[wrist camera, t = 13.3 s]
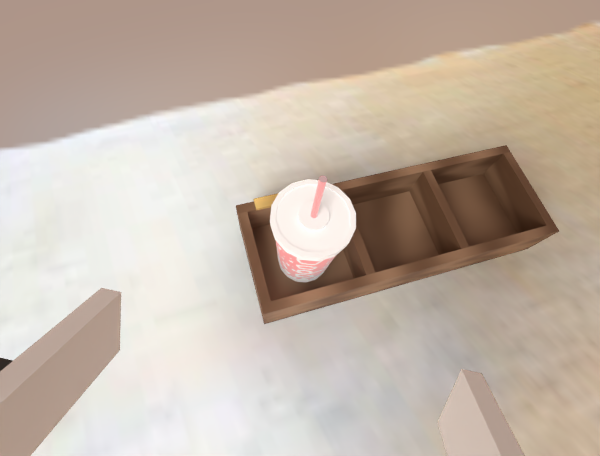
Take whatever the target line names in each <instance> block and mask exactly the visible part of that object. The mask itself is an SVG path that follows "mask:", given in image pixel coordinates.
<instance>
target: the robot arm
mask: <svg viewBox="0 0 600 456" xmlns="http://www.w3.org/2000/svg"><path fill="white" fill-rule="evenodd" d="M120 319H121V292H117V291H113V290H109V289H104V288H101V289H100V290H99V291H97V292H96V293H95V294H94V295H92V296H91V297H90V298H89V299H88V300H86V301H85V302H84V303H83V304H82V305H80V306H79V307H78V308H77V309H75V310H74V311H73V312H72V313H71V314H69V315H68V316H67V317H66V318H65V319H63V320H62V321H61V322H60V323H58V324H57V325H56V326H55V327H54V328H52V329H51V330H50V331H49V332H48V333H46V334H45V335H44V336H43V337H42V338H40V339H39V340H38V341H37V342H35V343H34V344H33V345H32V346H31V347H29V348H28V349H27V350H26V351H25V352H23V353H22V354H21V355H20V356H18V357H17V358H16V359H15V360H14V361H12V360H8V359H3V358H0V456H31V454H32V453H33V452H34V451H35V450H36V448H37V447H38V446H39V445H40V444H41V443H42V441H43V440H44V439H45V438H46V437H47V435H48V434H49V433H50V432H51V431H52V430H53V428H54V427H55V426H56V425H57V424H58V422H59V421H60V420H61V419H62V418H63V417H64V415H65V414H66V413H67V412H68V411H69V409H70V408H71V407H72V406H73V405H74V404H75V402H76V401H77V400H78V399H79V398H80V396H81V395H82V394H83V393H84V392H85V391H86V389H87V388H88V387H89V386H90V385H91V383H92V382H93V381H94V380H95V379H96V378H97V376H98V375H99V374H100V373H101V372H102V370H103V369H104V368H105V367H106V366H107V365H108V363H109V362H110V361H111V360H112V359H113V357H114V356H115V355H116V354H117V353H118V352H119V350H120ZM437 423H438V427H439V430H440V433H441V436H442V440H443V443H444V446H445V449H446V453H447V456H525V455H524V453H523V452H522V450H521V448H520V446H519V444H518V442H517V440H516V438H515V436H514V434H513V432H512V430H511V429H510V427H509V425H508V423H507V421H506V419H505V417H504V415H503V413H502V411H501V409H500V408H499V406H498V404H497V402H496V400H495V398H494V396H493V394H492V392H491V390H490V388H489V387H488V385H487V383H486V381H485V379H484V377H483V375H482V374H481V373H477V372H472V371H468V370H464V369H461V371H460V373H459V376H458V378H457V380H456V382H455V385H454V387H453V389H452V391H451V393H450V396H449V398H448V400H447V402H446V404H445V407H444V409H443V411H442V413H441V415H440V418H439V420H438V422H437Z"/></svg>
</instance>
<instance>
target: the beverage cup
mask: <svg viewBox="0 0 600 456" xmlns="http://www.w3.org/2000/svg"><path fill="white" fill-rule="evenodd" d="M270 226H271V229H272V232H273V235H274V238H275V240H276V247H277V255H278V262H279V265H280V268H281V270H282V271H283V272H284V274H285V275H286V276H287V277H288V278H290V279H292V280H294V281H296V282H309V281H312V280H316V279H317V278H318V277H319V276H320V275H322V274H323V273H324V271H325V270H326V268H327V267H328V266H329V264H330V263H331V261H332V260H333V259H334V257H335V256H336V255H337V254H338V253H339V252H341V251H342V250H343V249H344V248H345V247H346V246H347V245H348V244H349V242H350V240H351V238H352V236H353V233H354V231H355V229H356V212H355V210H354V207H353V205H352V203H351V200H350V199H349V198H348V197H347V196H346V195H345V194H344V193H343V192H342V191H341V190H340V189H339V188H338V187H336V186H334V185H332V184H330V183H328V182H327V177H326V176H320V177H319V180H311V179H306V180H302V181H298V182H294V183H291V184H290V185H289V186H287V187H286V188H284V189H283V190H282V191H280V192H279V194H278V195H277V197H276V199H275V200H274V202H273V204H272V205H271V215H270Z"/></svg>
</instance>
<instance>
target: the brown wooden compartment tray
mask: <svg viewBox="0 0 600 456" xmlns="http://www.w3.org/2000/svg"><path fill="white" fill-rule="evenodd" d="M332 185H334V186H336V187H338V188H339V189H340V190H341V191H342V192H343V193H344V194H345V195H346V196H347V197H348V198H349V199H350V200H351V203H352V205H353V207H354V210H355V212H356V229H355V231H354V233H353V236H352V238H351V240H350V242H349V244H348V245H347V246H346V247H345V248H344V249H343V250H342V251H341V252H339V253H338V254H337V255H336V256H335V257H334V259H333V260H332V261H331V263H330V264H329V266H328V267H327V268H326V270H325V271H324V273H323V274H322V275H320V276H319V277H318V278H317V279H316V280H312V281H309V282H296V281H294V280H292V279H290V278H288V277H287V276H286V275H285V274H284V272H283V271H282V270H281V268H280V265H279V262H278V255H277V247H276V240H275V238H274V235H273V232H272V229H271V226H270V215H271V205H272V204H273V202H274V200H275V199H276V197H277V195H278V194H279V193H278V194H273V195H269V196H264V197H260V198H255V199H254V202H250V203H245V204H241V205H236V209H237V214H238V219H239V225H240V229H241V233H242V237H243V241H244V245H245V249H246V253H247V257H248V261H249V265H250V269H251V273H252V277H253V281H254V285H255V289H256V293H257V297H258V301H259V305H260V309H261V313H262V317H263V321H264V324H266V323H269V322H273V321H276V320H280V319H283V318H287V317H290V316H294V315H297V314H301V313H304V312H308V311H311V310H315V309H318V308H322V307H325V306H329V305H332V304H336V303H339V302H343V301H346V300H350V299H353V298H357V297H360V296H364V295H367V294H371V293H374V292H378V291H381V290H385V289H388V288H392V287H395V286H399V285H402V284H406V283H409V282H413V281H416V280H420V279H423V278H427V277H430V276H434V275H437V274H441V273H444V272H448V271H451V270H455V269H458V268H462V267H465V266H469V265H472V264H476V263H479V262H483V261H486V260H490V259H493V258H497V257H500V256H504V255H507V254H511V253H514V252H518V251H521V250H525V249H528V248H529V247H531V246H533V245H535V244H537V243H539V242H540V241H542V240H544V239H546V238H548V237H549V236H551V235H553V234H555V233H557V232H559V230H558V228H557V227H556V225H555V224H554V222H553V220H552V219H551V217H550V215H549V214H548V212H547V211H546V209H545V207H544V206H543V204H542V202H541V201H540V199H539V198H538V196H537V194H536V193H535V191H534V189H533V188H532V186H531V185H530V183H529V181H528V180H527V178H526V176H525V175H524V173H523V172H522V170H521V168H520V167H519V165H518V163H517V162H516V160H515V159H514V157H513V155H512V154H511V152H510V150H509V149H508V147H507V146H501V147H497V148H492V149H488V150H483V151H479V152H474V153H470V154H465V155H461V156H456V157H452V158H447V159H443V160H438V161H434V162H429V163H425V164H420V165H416V166H411V167H407V168H402V169H398V170H393V171H389V172H384V173H380V174H375V175H371V176H366V177H362V178H357V179H353V180H349V181H344V182H340V183H335V184H332Z"/></svg>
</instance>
